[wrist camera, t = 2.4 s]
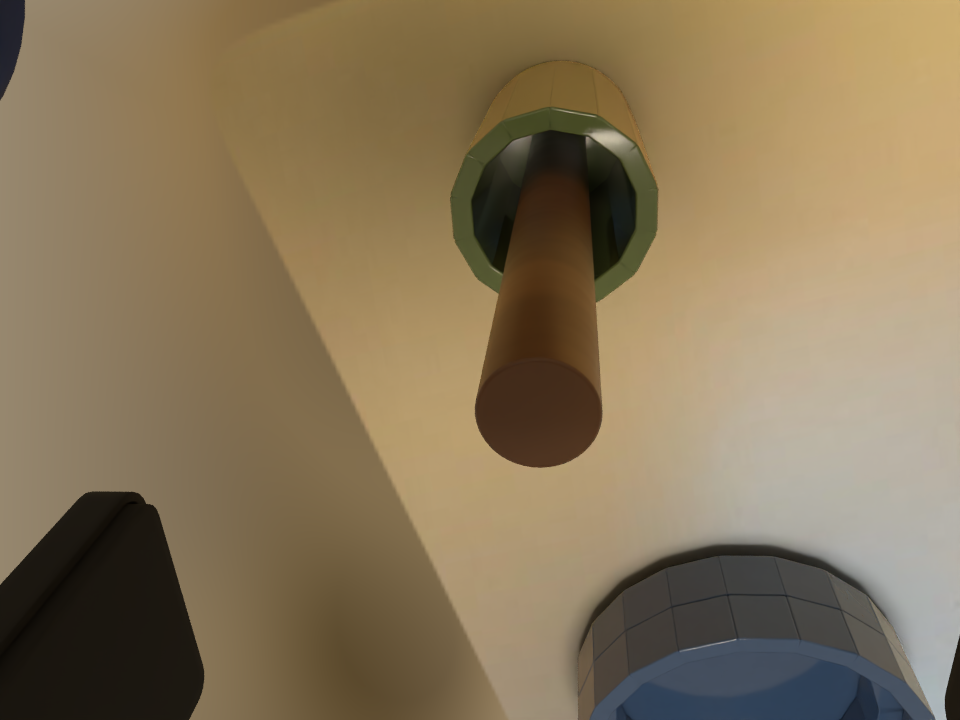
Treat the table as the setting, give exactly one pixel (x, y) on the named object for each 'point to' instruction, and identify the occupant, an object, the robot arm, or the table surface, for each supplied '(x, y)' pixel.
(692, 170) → the table surface
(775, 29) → the table surface
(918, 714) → the mixing bowl
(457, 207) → the utensil crock
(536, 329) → the cooking stick
